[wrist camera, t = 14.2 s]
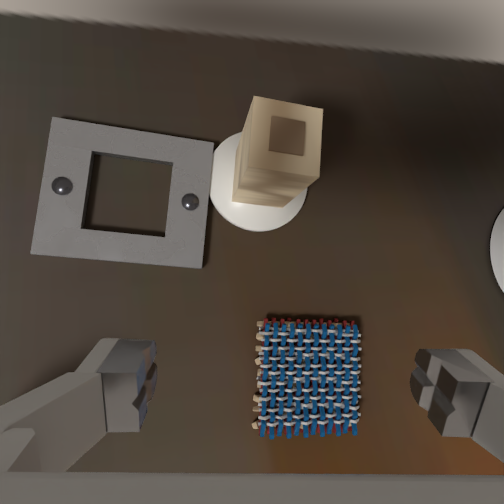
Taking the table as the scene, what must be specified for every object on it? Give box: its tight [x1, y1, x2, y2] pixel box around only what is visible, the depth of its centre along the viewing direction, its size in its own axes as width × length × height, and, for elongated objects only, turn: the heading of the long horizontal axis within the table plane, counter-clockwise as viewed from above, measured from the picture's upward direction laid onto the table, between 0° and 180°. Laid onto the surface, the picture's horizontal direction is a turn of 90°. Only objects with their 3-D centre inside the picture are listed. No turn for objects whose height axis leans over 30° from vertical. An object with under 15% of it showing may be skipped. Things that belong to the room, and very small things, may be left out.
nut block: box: [232, 96, 323, 208], centre depth 25 cm, size 5×5×9 cm
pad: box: [209, 132, 307, 232], centre depth 30 cm, size 10×10×1 cm
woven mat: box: [252, 318, 361, 439], centre depth 29 cm, size 10×11×2 cm
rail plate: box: [30, 117, 214, 269], centre depth 27 cm, size 14×12×1 cm
